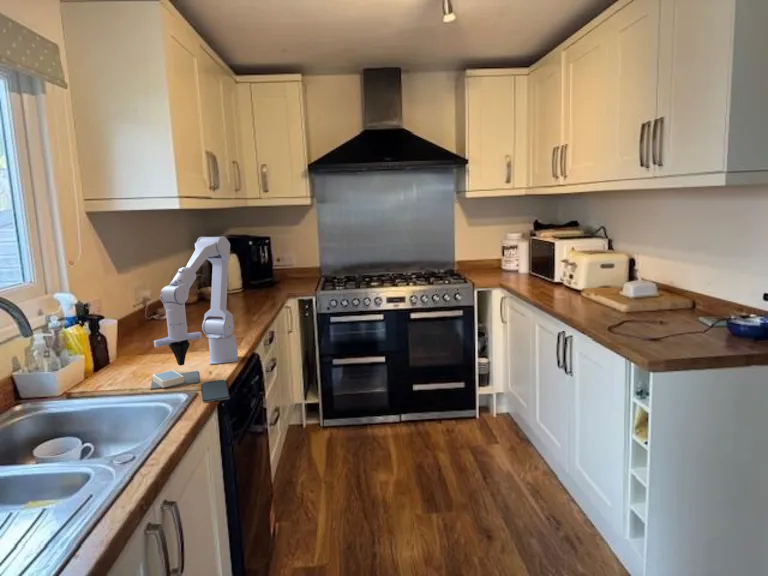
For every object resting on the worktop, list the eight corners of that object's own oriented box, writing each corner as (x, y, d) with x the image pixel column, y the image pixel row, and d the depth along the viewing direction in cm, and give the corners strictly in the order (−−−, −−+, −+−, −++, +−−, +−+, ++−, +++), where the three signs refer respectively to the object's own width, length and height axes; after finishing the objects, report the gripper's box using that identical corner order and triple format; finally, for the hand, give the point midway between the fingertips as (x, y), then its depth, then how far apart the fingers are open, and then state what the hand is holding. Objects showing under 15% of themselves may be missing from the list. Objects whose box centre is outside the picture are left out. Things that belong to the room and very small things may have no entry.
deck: (172, 369, 174) (152, 374, 169) (183, 376, 167) (162, 381, 163) (173, 376, 174) (152, 380, 170) (184, 382, 167) (162, 387, 163)
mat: (198, 371, 179) (198, 370, 179) (199, 382, 167) (199, 381, 167) (152, 377, 174) (152, 376, 174) (150, 389, 163) (150, 388, 163)
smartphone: (202, 400, 150) (200, 382, 164) (202, 406, 151) (201, 387, 164) (230, 396, 153) (226, 378, 167) (230, 402, 153) (226, 384, 167)
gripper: (194, 317, 176) (198, 357, 178) (148, 325, 167) (153, 367, 169) (203, 320, 171) (206, 361, 173) (156, 328, 161) (161, 372, 164)
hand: (181, 364), depth 171 cm, fingers closed
